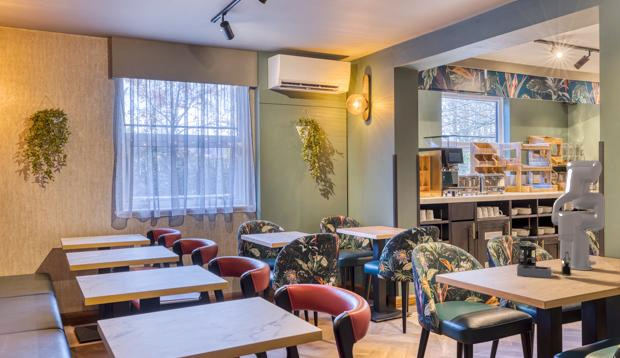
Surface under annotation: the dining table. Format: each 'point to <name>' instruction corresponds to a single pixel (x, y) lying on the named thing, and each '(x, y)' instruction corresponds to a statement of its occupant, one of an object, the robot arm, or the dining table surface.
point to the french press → (527, 251)
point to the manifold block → (534, 271)
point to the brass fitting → (562, 268)
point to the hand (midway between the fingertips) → (566, 272)
